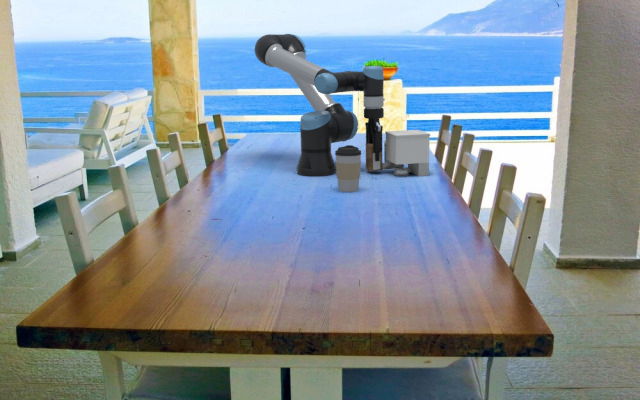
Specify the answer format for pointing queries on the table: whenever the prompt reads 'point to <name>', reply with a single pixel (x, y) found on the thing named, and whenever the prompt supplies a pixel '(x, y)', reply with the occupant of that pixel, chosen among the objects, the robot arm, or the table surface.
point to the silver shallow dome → (401, 171)
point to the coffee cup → (348, 168)
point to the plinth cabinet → (409, 150)
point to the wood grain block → (382, 165)
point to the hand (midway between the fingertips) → (374, 168)
